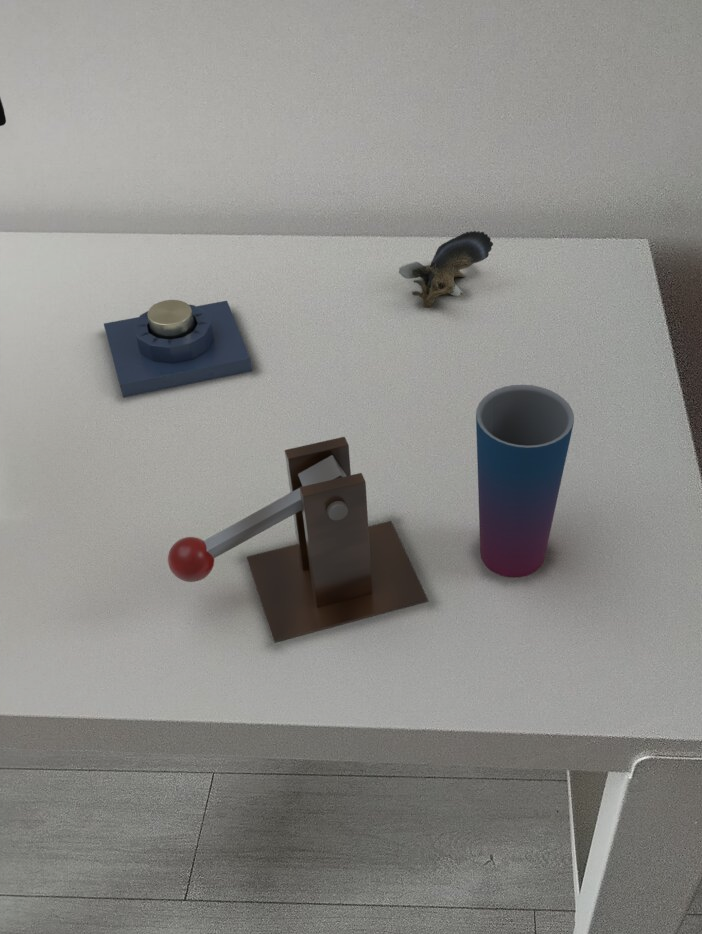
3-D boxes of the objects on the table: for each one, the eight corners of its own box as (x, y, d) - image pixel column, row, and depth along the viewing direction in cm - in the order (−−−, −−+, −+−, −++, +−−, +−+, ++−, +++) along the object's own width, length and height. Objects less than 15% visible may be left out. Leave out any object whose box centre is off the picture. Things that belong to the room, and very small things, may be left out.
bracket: (275, 651, 77) (254, 530, 68) (248, 566, 83) (224, 443, 73) (428, 609, 80) (428, 488, 70) (391, 530, 86) (387, 407, 76)
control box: (124, 404, 95) (115, 368, 92) (108, 342, 102) (98, 307, 98) (253, 377, 98) (247, 342, 95) (230, 319, 104) (224, 284, 101)
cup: (571, 562, 84) (594, 415, 72) (514, 607, 80) (528, 461, 69) (509, 519, 87) (521, 372, 75) (451, 561, 83) (455, 414, 72)
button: (155, 344, 95) (151, 328, 94) (147, 320, 98) (143, 304, 97) (198, 335, 96) (195, 319, 95) (190, 312, 99) (186, 296, 98)
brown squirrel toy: (473, 319, 103) (509, 260, 107) (433, 261, 99) (472, 202, 103) (419, 333, 108) (455, 276, 112) (379, 279, 104) (417, 222, 108)
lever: (188, 597, 74) (163, 574, 72) (179, 566, 76) (155, 542, 73) (359, 503, 73) (340, 475, 71) (346, 474, 75) (327, 446, 73)
